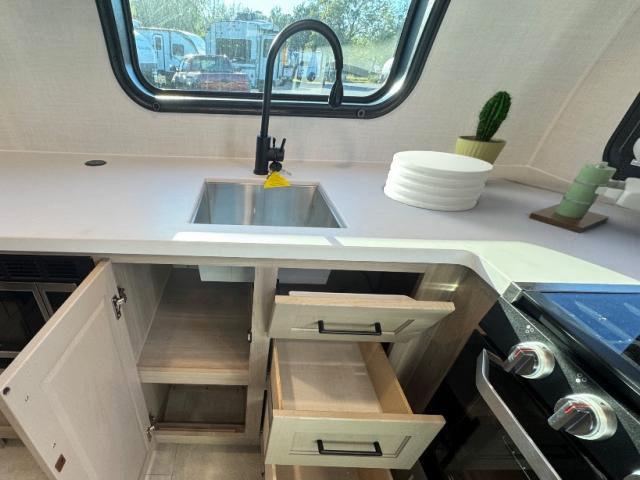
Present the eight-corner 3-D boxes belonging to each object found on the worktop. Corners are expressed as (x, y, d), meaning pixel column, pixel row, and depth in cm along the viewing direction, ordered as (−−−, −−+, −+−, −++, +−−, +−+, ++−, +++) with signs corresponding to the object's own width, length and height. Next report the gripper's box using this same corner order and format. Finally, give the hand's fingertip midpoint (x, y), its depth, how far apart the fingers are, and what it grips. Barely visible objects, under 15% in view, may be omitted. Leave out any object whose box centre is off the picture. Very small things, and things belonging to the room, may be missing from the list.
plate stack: (496, 207, 99) (516, 168, 92) (423, 214, 92) (439, 174, 86) (430, 181, 121) (442, 149, 114) (367, 186, 114) (376, 152, 107)
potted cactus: (438, 173, 131) (471, 86, 113) (479, 177, 128) (520, 88, 110) (446, 184, 119) (485, 88, 101) (492, 188, 116) (541, 90, 98)
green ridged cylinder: (585, 214, 91) (621, 162, 83) (582, 220, 88) (620, 166, 79) (555, 208, 95) (587, 158, 87) (552, 213, 91) (585, 161, 83)
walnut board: (556, 208, 100) (559, 203, 99) (605, 221, 91) (609, 216, 90) (528, 217, 92) (531, 212, 92) (579, 233, 84) (582, 227, 83)
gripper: (681, 178, 81) (608, 167, 89) (688, 194, 70) (603, 180, 78) (661, 202, 85) (593, 190, 93) (664, 221, 73) (586, 205, 81)
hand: (598, 186), depth 85 cm, fingers open, 8 cm apart
